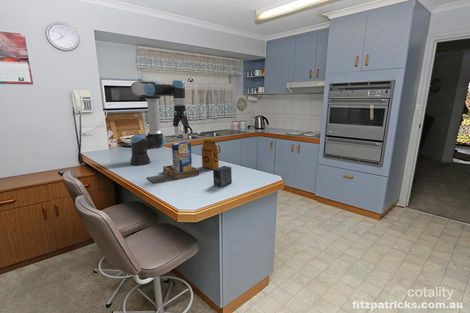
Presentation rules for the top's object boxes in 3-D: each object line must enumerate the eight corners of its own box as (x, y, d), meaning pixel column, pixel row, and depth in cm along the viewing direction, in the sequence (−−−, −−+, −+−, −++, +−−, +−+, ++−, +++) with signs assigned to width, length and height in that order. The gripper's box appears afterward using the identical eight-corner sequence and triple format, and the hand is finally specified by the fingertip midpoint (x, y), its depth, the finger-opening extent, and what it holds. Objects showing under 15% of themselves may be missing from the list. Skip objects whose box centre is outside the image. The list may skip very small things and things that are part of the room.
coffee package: (211, 170, 185) (211, 141, 180) (200, 167, 193) (199, 139, 188) (220, 167, 192) (220, 139, 187) (209, 165, 200) (208, 137, 195)
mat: (146, 178, 167) (146, 177, 167) (166, 174, 175) (166, 173, 175) (153, 183, 156) (153, 182, 156) (175, 179, 164) (175, 178, 164)
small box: (224, 181, 162) (224, 165, 159) (232, 183, 158) (232, 167, 155) (212, 185, 154) (212, 168, 151) (220, 187, 150) (220, 170, 147)
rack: (163, 171, 181) (163, 166, 180) (184, 168, 191) (184, 163, 190) (176, 179, 164) (175, 173, 163) (199, 175, 174) (198, 169, 173)
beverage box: (173, 175, 172) (171, 144, 168) (185, 172, 181) (184, 141, 176) (180, 177, 168) (178, 145, 163) (192, 173, 177) (191, 143, 172)
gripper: (166, 104, 171) (168, 135, 176) (182, 105, 152) (184, 140, 157) (176, 104, 176) (178, 134, 181) (193, 105, 156) (195, 138, 161)
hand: (181, 137), depth 169 cm, fingers open, 13 cm apart
